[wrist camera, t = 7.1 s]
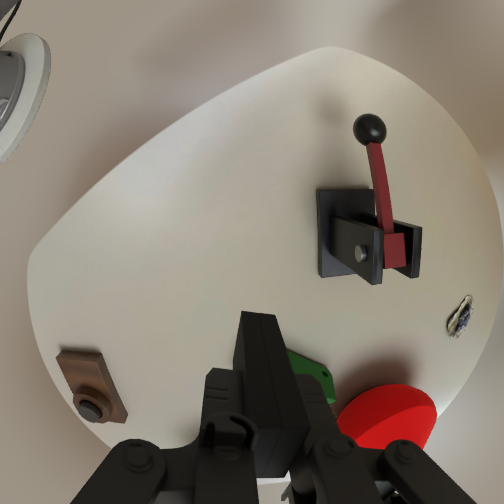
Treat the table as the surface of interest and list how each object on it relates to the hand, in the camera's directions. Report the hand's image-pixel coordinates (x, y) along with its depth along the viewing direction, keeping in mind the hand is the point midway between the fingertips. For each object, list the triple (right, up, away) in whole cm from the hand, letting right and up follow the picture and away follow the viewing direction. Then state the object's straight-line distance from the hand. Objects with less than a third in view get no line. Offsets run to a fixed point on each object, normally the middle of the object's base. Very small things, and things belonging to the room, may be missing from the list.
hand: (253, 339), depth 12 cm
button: (-25, -20, +20) cm, 37 cm away
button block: (-25, -17, +23) cm, 38 cm away
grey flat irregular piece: (+36, -7, +24) cm, 44 cm away
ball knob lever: (+11, +10, +11) cm, 18 cm away
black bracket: (+11, +6, +19) cm, 23 cm away
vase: (+20, -23, +27) cm, 41 cm away
